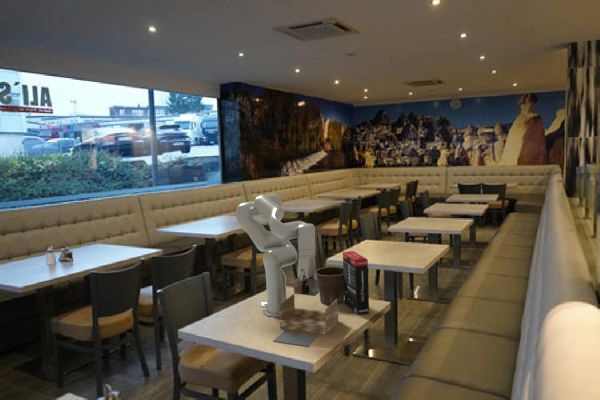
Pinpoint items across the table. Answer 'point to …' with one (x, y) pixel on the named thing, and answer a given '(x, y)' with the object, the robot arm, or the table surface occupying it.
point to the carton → (307, 317)
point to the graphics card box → (356, 282)
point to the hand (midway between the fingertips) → (307, 291)
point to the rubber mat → (295, 339)
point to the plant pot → (331, 284)
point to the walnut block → (312, 287)
